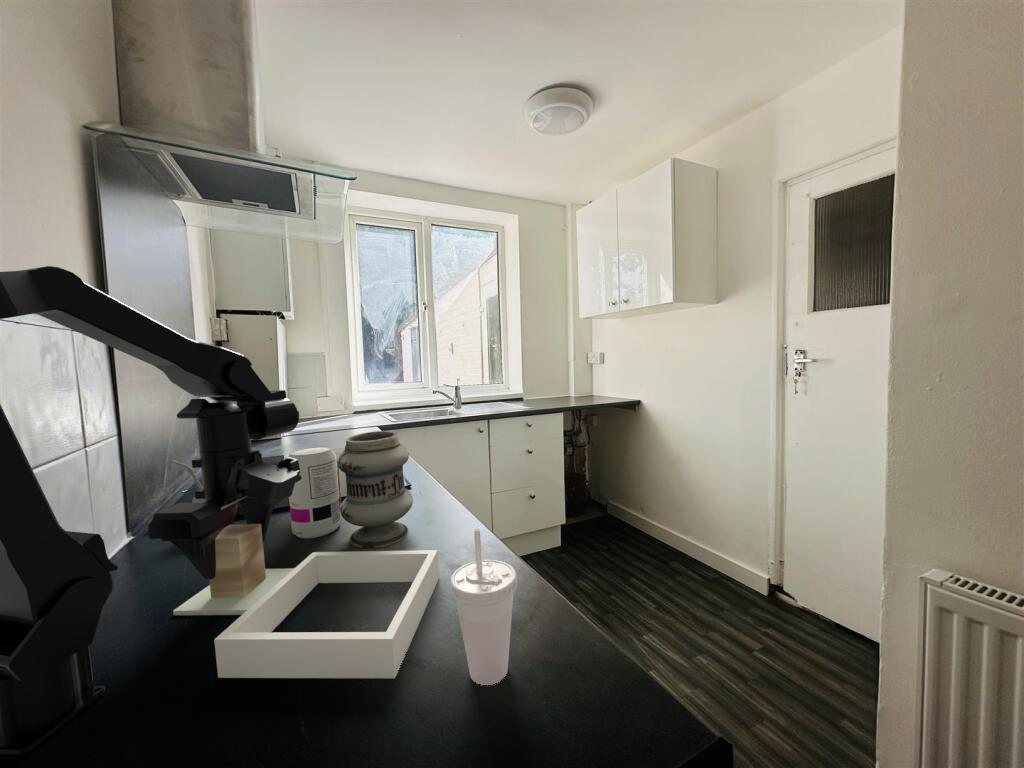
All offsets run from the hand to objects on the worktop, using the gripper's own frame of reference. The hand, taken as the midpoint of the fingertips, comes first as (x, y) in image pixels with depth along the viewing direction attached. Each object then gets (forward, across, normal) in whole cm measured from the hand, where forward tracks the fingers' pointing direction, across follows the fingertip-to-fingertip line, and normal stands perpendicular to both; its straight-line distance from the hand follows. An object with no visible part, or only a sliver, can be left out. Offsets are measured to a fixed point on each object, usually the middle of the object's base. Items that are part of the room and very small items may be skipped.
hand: (236, 560), depth 56 cm
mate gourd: (+5, +20, +20) cm, 29 cm away
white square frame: (+4, -6, -18) cm, 20 cm away
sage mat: (+4, 0, 0) cm, 4 cm away
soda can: (+5, +30, +4) cm, 31 cm away
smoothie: (+5, -14, -36) cm, 39 cm away
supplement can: (+5, +20, 0) cm, 21 cm away
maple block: (+4, 0, 0) cm, 4 cm away
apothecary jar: (+5, +17, -13) cm, 22 cm away
